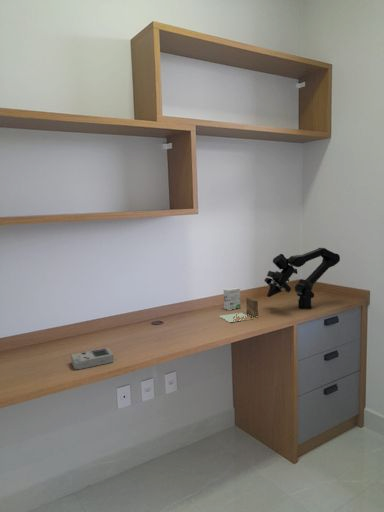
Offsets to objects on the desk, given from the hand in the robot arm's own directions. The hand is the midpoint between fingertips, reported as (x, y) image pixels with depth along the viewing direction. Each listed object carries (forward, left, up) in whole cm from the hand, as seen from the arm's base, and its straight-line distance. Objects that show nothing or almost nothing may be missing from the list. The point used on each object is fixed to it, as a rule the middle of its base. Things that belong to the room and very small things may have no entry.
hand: (267, 296), depth 207 cm
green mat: (+15, +12, -9) cm, 21 cm away
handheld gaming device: (+55, +83, -10) cm, 101 cm away
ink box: (+21, -6, -9) cm, 24 cm away
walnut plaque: (+7, +6, -9) cm, 13 cm away
